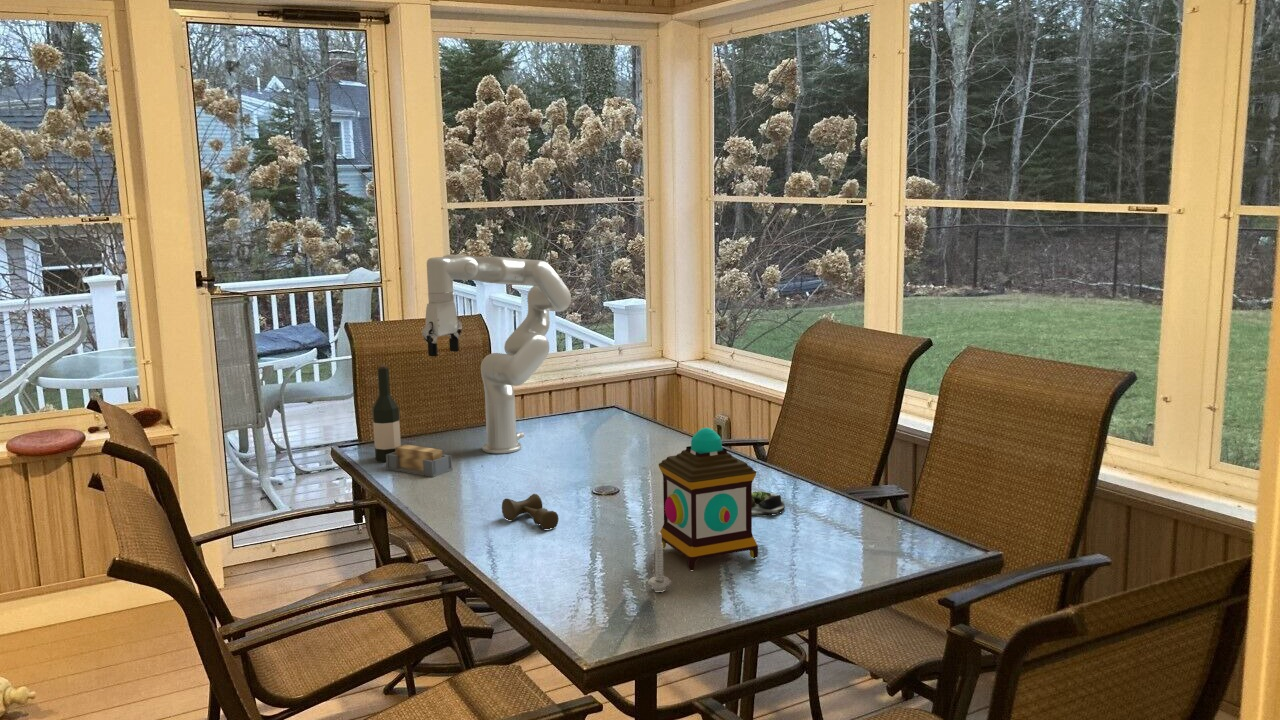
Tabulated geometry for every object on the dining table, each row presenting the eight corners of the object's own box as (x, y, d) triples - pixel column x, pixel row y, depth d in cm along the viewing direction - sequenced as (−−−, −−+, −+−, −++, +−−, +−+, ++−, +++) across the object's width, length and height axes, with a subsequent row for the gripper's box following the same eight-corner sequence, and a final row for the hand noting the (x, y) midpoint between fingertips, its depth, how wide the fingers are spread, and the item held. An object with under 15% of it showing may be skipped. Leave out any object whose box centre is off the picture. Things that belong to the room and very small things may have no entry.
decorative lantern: (687, 575, 226) (685, 442, 221) (650, 547, 244) (647, 423, 239) (766, 561, 234) (767, 431, 229) (725, 534, 252) (724, 414, 247)
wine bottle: (398, 462, 324) (392, 368, 319) (371, 462, 324) (365, 368, 319) (404, 455, 332) (399, 363, 327) (379, 455, 333) (373, 363, 327)
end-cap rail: (386, 469, 316) (385, 454, 316) (405, 462, 324) (404, 448, 323) (433, 477, 307) (432, 462, 306) (452, 470, 314) (451, 455, 313)
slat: (396, 466, 317) (395, 447, 316) (405, 463, 321) (404, 444, 320) (433, 472, 310) (432, 452, 309) (442, 469, 313) (441, 449, 312)
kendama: (534, 536, 255) (493, 515, 271) (567, 529, 261) (525, 508, 276) (534, 513, 254) (493, 493, 270) (567, 506, 260) (525, 487, 275)
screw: (666, 596, 215) (645, 593, 217) (674, 587, 220) (653, 585, 221) (665, 536, 213) (643, 534, 215) (673, 529, 217) (651, 526, 219)
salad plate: (712, 520, 264) (712, 502, 263) (708, 499, 282) (708, 482, 281) (788, 519, 264) (788, 501, 263) (779, 498, 281) (779, 481, 281)
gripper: (450, 294, 324) (453, 348, 327) (411, 300, 309) (415, 357, 312) (469, 295, 320) (471, 350, 323) (431, 301, 305) (434, 358, 308)
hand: (443, 353), depth 317 cm, fingers open, 9 cm apart
